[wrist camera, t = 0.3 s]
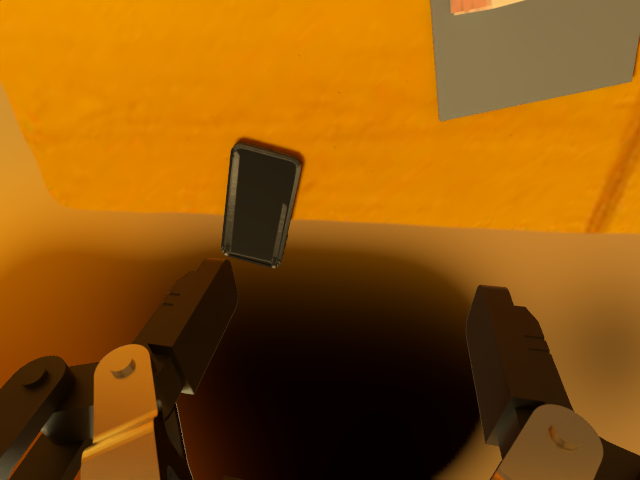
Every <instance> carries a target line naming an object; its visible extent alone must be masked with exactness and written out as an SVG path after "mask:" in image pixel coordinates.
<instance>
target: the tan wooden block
mask: <svg viewBox="0 0 640 480" xmlns="http://www.w3.org/2000/svg"><path fill="white" fill-rule="evenodd" d="M520 1H524V0H450V9H451V13H454V15H460V14H466V13H471V12H477V11H483V10H489V9H494V8H498V7H501V6H505V5H509V4H513V3H516V2H520Z"/></svg>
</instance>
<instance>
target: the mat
mask: <svg viewBox="0 0 640 480" xmlns="http://www.w3.org/2000/svg"><path fill="white" fill-rule="evenodd" d="M430 3H431V17H432V30H433V44H434V57H435V71H436V84H437V98H438V111H439V121H445V120H449V119H454V118H459V117H464V116H469V115H473V114H478V113H483V112H488V111H493V110H497V109H502V108H507V107H512V106H517V105H522V104H526V103H531V102H536V101H541V100H546V99H550V98H555V97H560V96H565V95H570V94H575V93H579V92H584V91H589V90H594V89H599V88H603V87H608V86H613V85H618V84H623V83H627V82H632V77H633V71H634V65H635V59H636V53H637V47H638V41H639V35H640V0H524V1H520V2H516V3H513V4H509V5H505V6H501V7H498V8H494V9H489V10H483V11H477V12H471V13H466V14H460V15H454V13H451V9H450V0H430Z"/></svg>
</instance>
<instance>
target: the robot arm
mask: <svg viewBox="0 0 640 480" xmlns="http://www.w3.org/2000/svg"><path fill="white" fill-rule="evenodd" d="M237 302H238V291H237V286H236V282H235V278H234V274H233V269H232V265H231V262H230V261H229V260H227V259H217V258H205V259H204V260H203V262H202V263H201V265H200V266H199V268H198V269H197V271H196V272H194V271H190V272H188V273H187V274H186V275H184V276H183V277H182V278H180V279H179V280H178V281H177V282H176V283H175V284H174V286H173V287H172V289H171V290H170V291H169V294H168V295H167V296H166V297H165V298H164V300H163V301H162V304H161V305H159V307H158V308H157V310H156V311H155V312H154V314H153V315H152V316H151V318H150V319H149V321H148V322H147V324H146V325H145V326H144V328H143V329H142V330H141V332H140V333H139V335H138V336H137V337H136V339H135V340H134V341H133V343H132V344H130V345H125V346H122V347H119V348H117V349H115V350H113V351H112V352H110V353H109V354H108V355H106V356H105V357H104V358H103V359H102V360H101V361H100V362H96V363H90V364H83V365H77V366H71V367H69V366H68V365H67V364H66V363H65V361H64V360H63V359H62V358H60V357H58V356H45V357H41V358H38V359H36V360H34V361H31V362H30V363H28V364H26V365H25V366H23V367H22V368H20V369H19V370H18V371H17V372H16V373H15V374H14V375H13V376H12V377H11V378H10V379H9V380H8V381H7V382H6V384H5V385H4V386H3V387H2V388H1V389H0V480H8V479H9V476H10V473H11V471H12V470H13V468H14V466H15V465H16V464H17V462H18V461H19V459H20V458H21V457H22V455H23V454H24V453H25V451H26V450H27V448H28V447H29V446H30V444H31V443H32V442H33V440H34V439H35V437H36V436H37V435H38V433H39V432H40V431H41V432H42V435H41V436H40V437H39V439H38V440H37V441H36V443H35V444H34V446H33V447H32V449H31V450H30V451H29V453H28V454H27V455H26V457H25V458H24V460H23V461H22V462H21V464H20V465H19V467H18V468H17V470H16V471H15V472H14V474H13V475H12V476H11V478H10V479H9V480H74V478H75V476H76V475H77V473H78V471H79V470H80V468H81V480H193V478H192V475H191V472H190V469H189V466H188V462H187V457H186V452H185V447H184V442H183V436H182V431H181V425H180V420H179V415H178V410H177V405H176V401H177V399H178V397H179V395H180V393H181V392H183V393H189V394H194V393H195V391H196V389H197V387H198V385H199V383H200V381H201V378H202V377H203V375H204V372H205V370H206V368H207V366H208V364H209V362H210V360H211V358H212V356H213V354H214V352H215V350H216V348H217V346H218V344H219V342H220V340H221V338H222V336H223V333H224V331H225V329H226V327H227V325H228V323H229V321H230V319H231V317H232V315H233V313H234V311H235V309H236V305H237ZM466 338H467V344H468V349H469V355H470V360H471V366H472V372H473V377H474V383H475V388H476V394H477V399H478V405H479V411H480V416H481V422H482V427H483V433H484V439H485V444H490V445H496V446H499V447H500V452H501V457H502V461H501V462H500V464H499V465H498V467H497V469H496V470H495V472H494V473H493V475H492V477H491V478H490V480H640V456H639V455H637V454H635V453H632V452H630V451H627V450H625V449H623V448H621V447H619V446H616V445H614V444H612V443H610V442H608V441H606V440H604V439H603V438H601V437H599V436H598V434H597V433H596V431H595V430H594V429H593V427H592V426H591V425H590V424H589V423H588V422H587V421H586V420H585V419H584V418H583V417H581V416H580V415H578V414H577V413H575V412H574V410H573V408H572V406H571V404H570V402H569V399H568V396H567V394H566V391H565V389H564V386H563V384H562V381H561V378H560V376H559V373H558V371H557V368H556V366H555V364H554V361H553V358H552V355H551V354H550V353H549V351H550V350H549V348H548V345H547V343H546V341H544V335H543V333H542V330H541V328H540V325H539V322H538V321H537V320H536V319H535V317H534V316H533V315H532V314H531V313H530V312H529V311H528V310H527V308H526V307H521V306H514V305H513V302H512V299H511V296H510V293H509V291H508V289H507V288H506V287H497V286H487V285H479V286H478V288H477V290H476V293H475V297H474V299H473V302H472V305H471V308H470V311H469V314H468V318H467V322H466ZM222 480H242V479H238V478H232V477H228V476H223V479H222Z"/></svg>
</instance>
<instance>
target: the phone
mask: <svg viewBox="0 0 640 480" xmlns="http://www.w3.org/2000/svg"><path fill="white" fill-rule="evenodd" d="M301 168H302V164H301V161H300V160H299V159H298V158H297V157H296V156H293V155H290V154H286V153H282V152H279V151H275V150H271V149H268V148H264V147H260V146H256V145H253V144H249V143H245V142H239V143H237V144H236V145H234V146H233V148H232V149H231V155H230V165H229V175H228V185H227V194H226V204H225V214H224V224H223V234H222V244H221V249H222V252H223V253H224V254H225V255H226V256H228V257H232V258H236V259H239V260H243V261H247V262H251V263H255V264H258V265H262V266H266V267H270V268H276V267H278V266H279V265H280V263H281V260H282V258H283V254H284V249H285V246H286V240H287V237H288V230H289V225H290V221H291V220H290V219H291V215H292V210H293V205H294V201H295V196H296V192H297V187H298V182H299V178H300V173H301Z"/></svg>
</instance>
